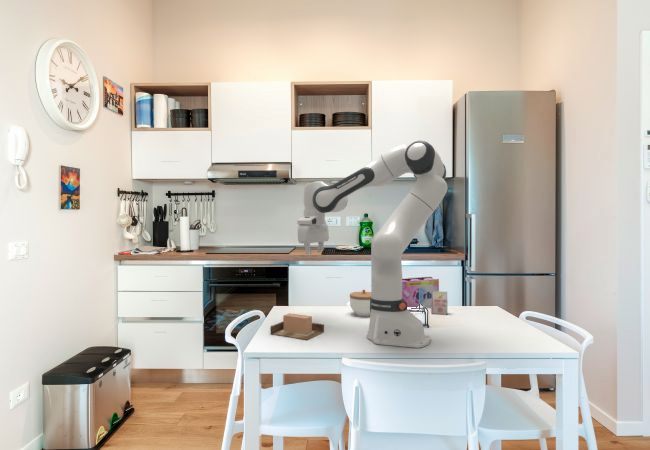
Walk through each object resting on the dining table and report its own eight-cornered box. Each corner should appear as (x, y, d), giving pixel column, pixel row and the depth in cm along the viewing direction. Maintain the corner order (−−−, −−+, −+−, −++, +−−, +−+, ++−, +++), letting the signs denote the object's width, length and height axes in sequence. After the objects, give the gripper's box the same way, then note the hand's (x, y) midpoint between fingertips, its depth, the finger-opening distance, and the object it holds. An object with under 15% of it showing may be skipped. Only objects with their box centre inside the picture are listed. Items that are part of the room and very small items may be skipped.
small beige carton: (431, 312, 187) (431, 290, 187) (446, 313, 185) (446, 291, 185) (431, 314, 183) (431, 292, 183) (447, 315, 182) (447, 292, 182)
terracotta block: (289, 328, 157) (289, 313, 157) (311, 332, 153) (311, 316, 152) (283, 331, 154) (283, 315, 154) (306, 335, 149) (306, 318, 149)
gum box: (432, 303, 206) (432, 276, 206) (441, 306, 199) (442, 278, 199) (390, 307, 198) (390, 279, 197) (399, 310, 190) (399, 281, 190)
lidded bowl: (349, 311, 189) (349, 287, 189) (376, 311, 189) (376, 287, 188) (349, 317, 177) (350, 292, 176) (379, 318, 176) (379, 292, 176)
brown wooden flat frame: (324, 332, 155) (324, 324, 155) (307, 340, 144) (307, 332, 144) (288, 326, 162) (288, 319, 162) (270, 334, 152) (270, 326, 152)
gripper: (319, 219, 181) (319, 251, 182) (294, 220, 163) (294, 254, 164) (332, 219, 178) (332, 251, 179) (308, 220, 160) (308, 255, 161)
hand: (314, 253), depth 171 cm, fingers open, 8 cm apart
